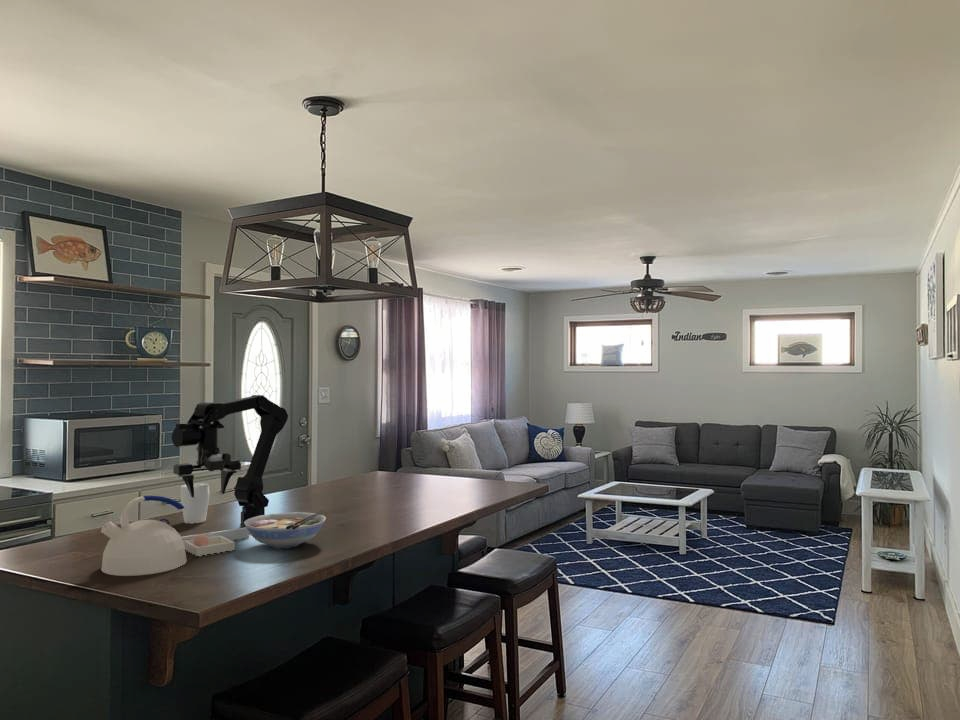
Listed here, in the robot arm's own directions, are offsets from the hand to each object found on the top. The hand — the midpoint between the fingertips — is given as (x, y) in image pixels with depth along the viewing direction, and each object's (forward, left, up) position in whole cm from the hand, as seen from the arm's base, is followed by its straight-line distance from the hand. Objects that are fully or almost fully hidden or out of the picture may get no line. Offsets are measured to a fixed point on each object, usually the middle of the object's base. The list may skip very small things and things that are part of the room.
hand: (207, 495), depth 229 cm
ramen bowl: (-12, +28, -12) cm, 33 cm away
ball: (+9, +19, -9) cm, 23 cm away
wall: (+2, +11, -12) cm, 16 cm away
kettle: (+25, +24, -12) cm, 37 cm away
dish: (+6, +19, -12) cm, 23 cm away
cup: (-4, -23, -12) cm, 26 cm away
